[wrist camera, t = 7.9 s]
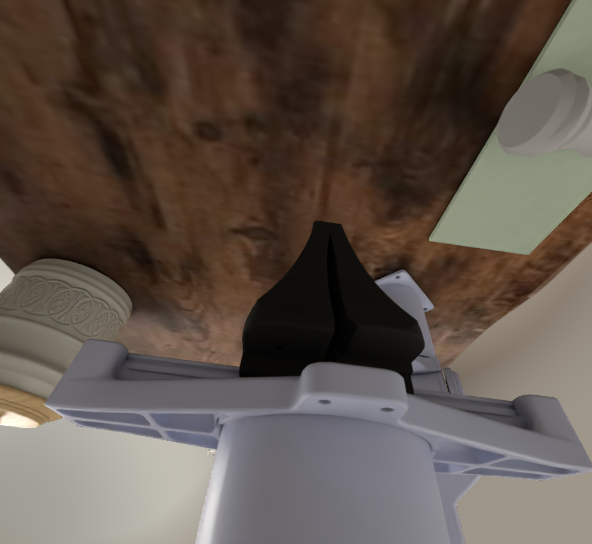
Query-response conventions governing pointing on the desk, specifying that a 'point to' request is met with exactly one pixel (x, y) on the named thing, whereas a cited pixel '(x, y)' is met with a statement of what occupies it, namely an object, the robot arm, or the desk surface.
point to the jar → (51, 332)
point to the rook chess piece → (548, 116)
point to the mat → (525, 166)
